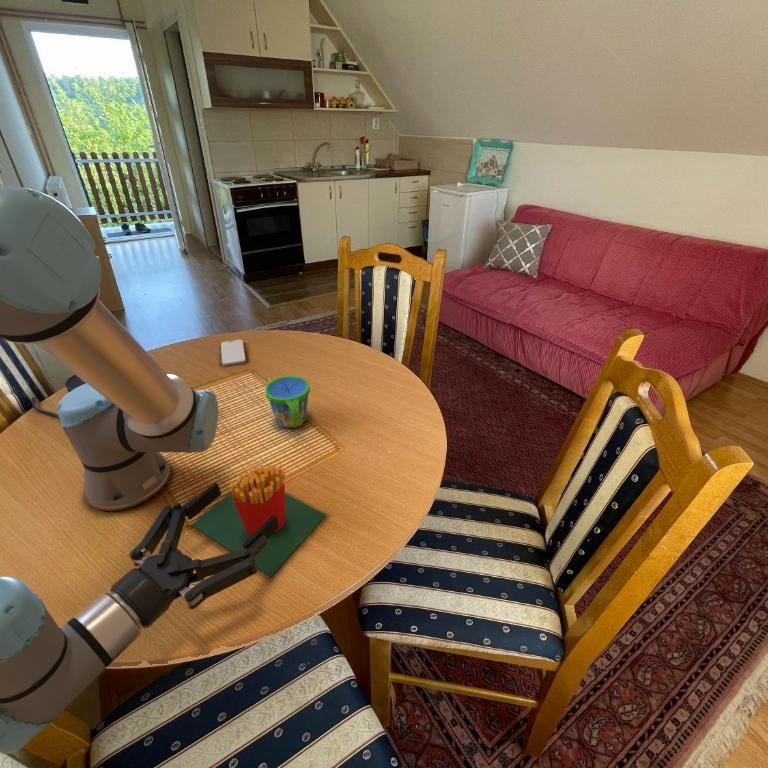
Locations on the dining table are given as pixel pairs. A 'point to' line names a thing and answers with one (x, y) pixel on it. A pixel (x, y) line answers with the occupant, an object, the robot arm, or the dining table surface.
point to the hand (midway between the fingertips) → (246, 504)
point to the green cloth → (299, 523)
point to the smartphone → (232, 352)
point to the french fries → (260, 497)
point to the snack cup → (288, 400)
